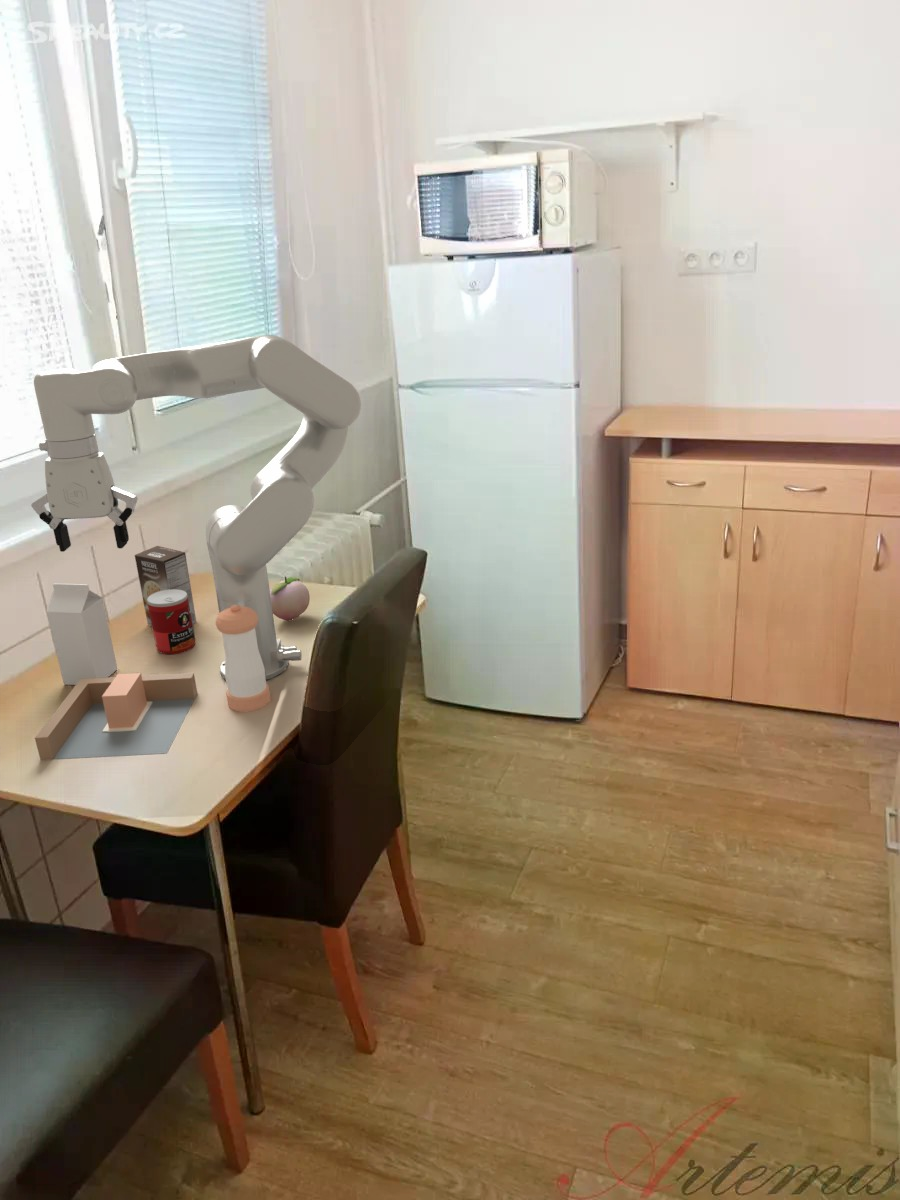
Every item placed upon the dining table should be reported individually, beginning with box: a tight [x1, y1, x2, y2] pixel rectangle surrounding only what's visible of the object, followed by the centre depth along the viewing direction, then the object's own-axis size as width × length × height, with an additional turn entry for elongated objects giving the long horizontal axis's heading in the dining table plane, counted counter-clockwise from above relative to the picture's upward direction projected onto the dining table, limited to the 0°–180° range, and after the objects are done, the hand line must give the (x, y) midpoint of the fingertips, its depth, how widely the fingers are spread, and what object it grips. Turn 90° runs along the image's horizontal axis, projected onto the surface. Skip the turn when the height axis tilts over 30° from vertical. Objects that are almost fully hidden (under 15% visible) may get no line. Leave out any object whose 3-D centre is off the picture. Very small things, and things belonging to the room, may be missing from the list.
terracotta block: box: [102, 672, 147, 728], centre depth 155 cm, size 8×4×6 cm, turn 1°
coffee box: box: [134, 545, 197, 627], centre depth 193 cm, size 9×6×16 cm
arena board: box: [34, 672, 198, 761], centre depth 153 cm, size 20×20×5 cm
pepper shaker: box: [215, 605, 271, 712], centre depth 156 cm, size 7×7×19 cm
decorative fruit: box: [270, 576, 311, 622], centre depth 192 cm, size 9×8×10 cm
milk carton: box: [45, 583, 118, 686], centre depth 170 cm, size 7×7×19 cm
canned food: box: [147, 589, 196, 655], centre depth 183 cm, size 8×8×11 cm
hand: (94, 547), depth 156 cm, fingers open, 9 cm apart
